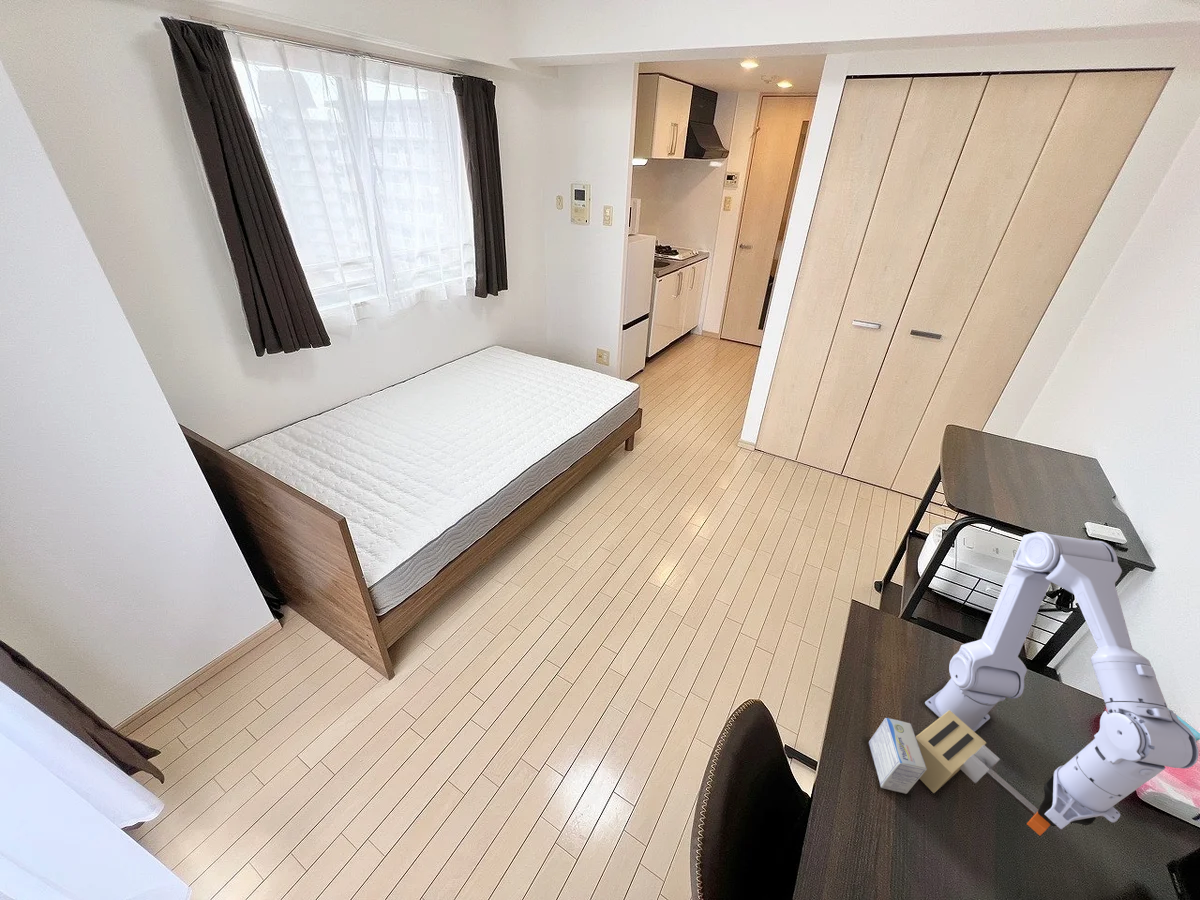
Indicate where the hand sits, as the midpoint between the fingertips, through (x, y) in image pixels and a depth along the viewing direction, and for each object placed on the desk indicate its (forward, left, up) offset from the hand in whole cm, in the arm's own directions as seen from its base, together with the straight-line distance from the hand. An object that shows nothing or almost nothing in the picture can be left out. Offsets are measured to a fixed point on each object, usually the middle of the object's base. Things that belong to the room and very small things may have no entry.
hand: (1046, 817), depth 73 cm
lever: (0, -4, -2) cm, 5 cm away
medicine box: (+9, -17, -9) cm, 21 cm away
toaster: (0, -12, -9) cm, 15 cm away
